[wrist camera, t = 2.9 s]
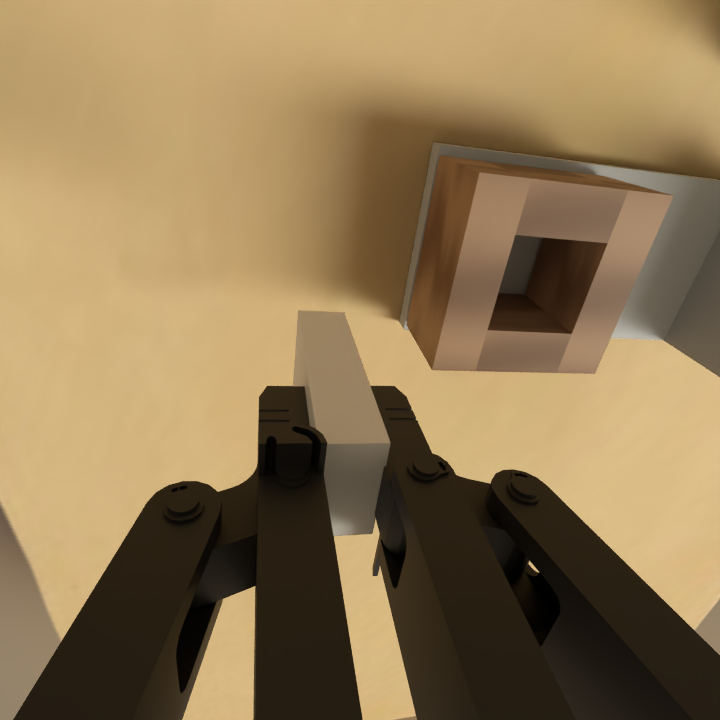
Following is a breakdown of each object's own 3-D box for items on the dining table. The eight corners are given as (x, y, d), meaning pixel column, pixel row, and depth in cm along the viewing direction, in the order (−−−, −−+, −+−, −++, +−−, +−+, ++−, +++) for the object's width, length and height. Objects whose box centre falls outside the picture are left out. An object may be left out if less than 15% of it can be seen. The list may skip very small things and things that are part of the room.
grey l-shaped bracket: (433, 141, 26) (505, 168, 18) (751, 183, 30) (919, 219, 23) (399, 321, 31) (443, 401, 23) (674, 333, 36) (787, 404, 28)
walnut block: (439, 155, 25) (479, 172, 20) (603, 175, 27) (673, 195, 22) (406, 324, 30) (432, 370, 25) (546, 330, 32) (594, 373, 27)
